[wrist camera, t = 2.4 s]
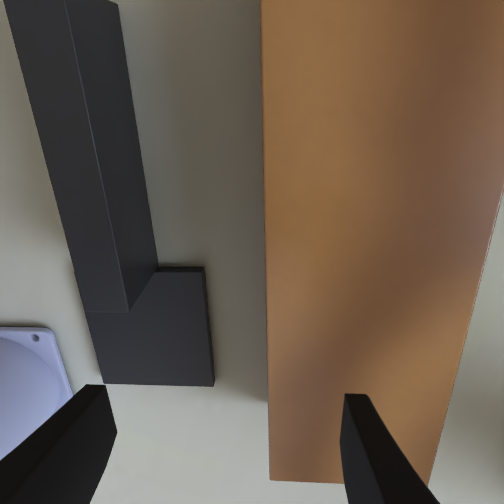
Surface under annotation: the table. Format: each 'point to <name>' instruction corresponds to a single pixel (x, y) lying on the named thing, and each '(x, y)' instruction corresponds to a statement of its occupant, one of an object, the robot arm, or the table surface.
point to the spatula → (108, 196)
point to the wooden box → (374, 213)
